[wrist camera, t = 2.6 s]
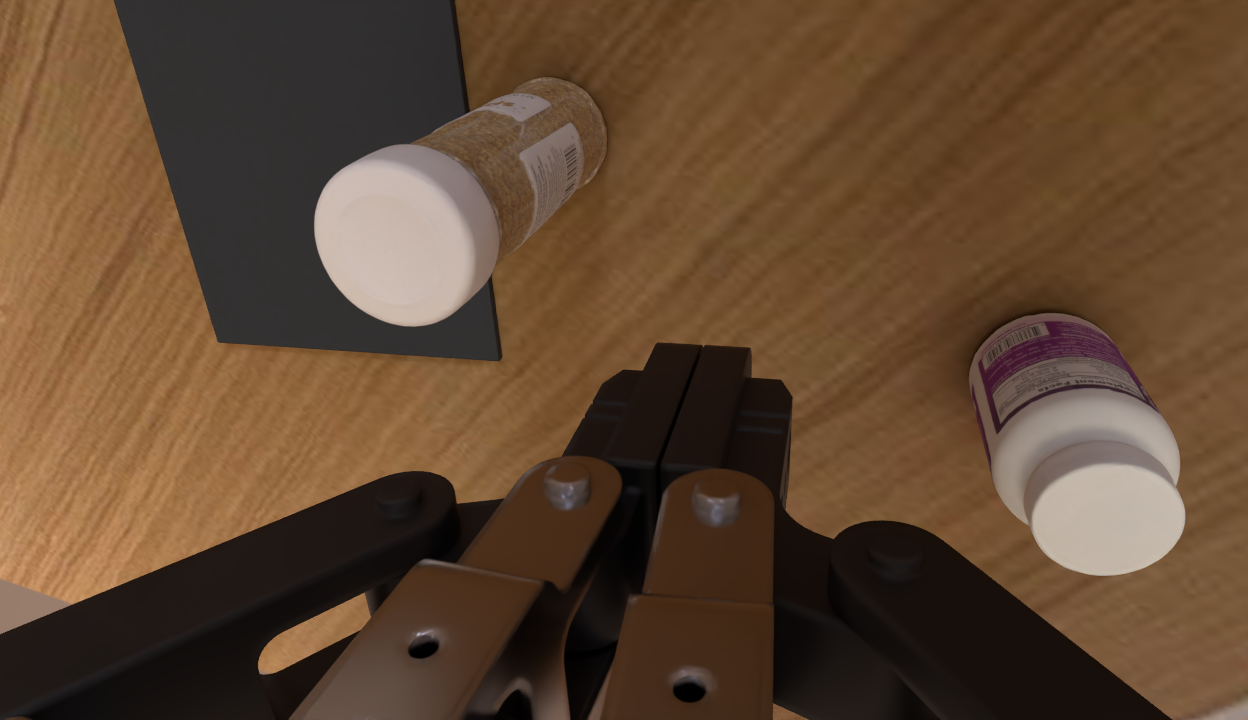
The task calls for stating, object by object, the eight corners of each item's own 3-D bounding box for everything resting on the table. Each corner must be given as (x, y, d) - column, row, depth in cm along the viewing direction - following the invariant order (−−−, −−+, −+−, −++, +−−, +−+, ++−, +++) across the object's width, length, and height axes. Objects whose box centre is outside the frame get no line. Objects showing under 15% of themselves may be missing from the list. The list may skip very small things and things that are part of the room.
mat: (84, -121, 32) (76, -122, 32) (433, -154, 29) (428, -156, 28) (222, 339, 41) (217, 342, 41) (502, 357, 38) (499, 361, 37)
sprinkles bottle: (532, 51, 31) (341, 122, 20) (632, 120, 31) (502, 231, 20) (482, 151, 34) (284, 267, 22) (575, 215, 34) (428, 363, 22)
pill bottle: (1103, 435, 33) (1188, 608, 24) (959, 424, 34) (993, 585, 26) (1134, 309, 30) (1240, 454, 22) (977, 303, 31) (1021, 437, 23)
